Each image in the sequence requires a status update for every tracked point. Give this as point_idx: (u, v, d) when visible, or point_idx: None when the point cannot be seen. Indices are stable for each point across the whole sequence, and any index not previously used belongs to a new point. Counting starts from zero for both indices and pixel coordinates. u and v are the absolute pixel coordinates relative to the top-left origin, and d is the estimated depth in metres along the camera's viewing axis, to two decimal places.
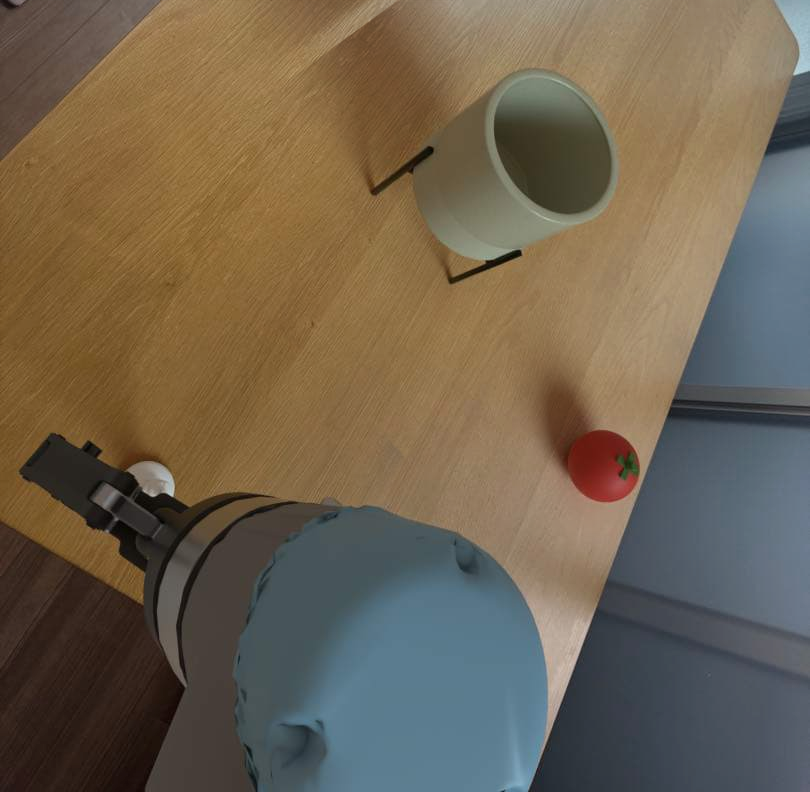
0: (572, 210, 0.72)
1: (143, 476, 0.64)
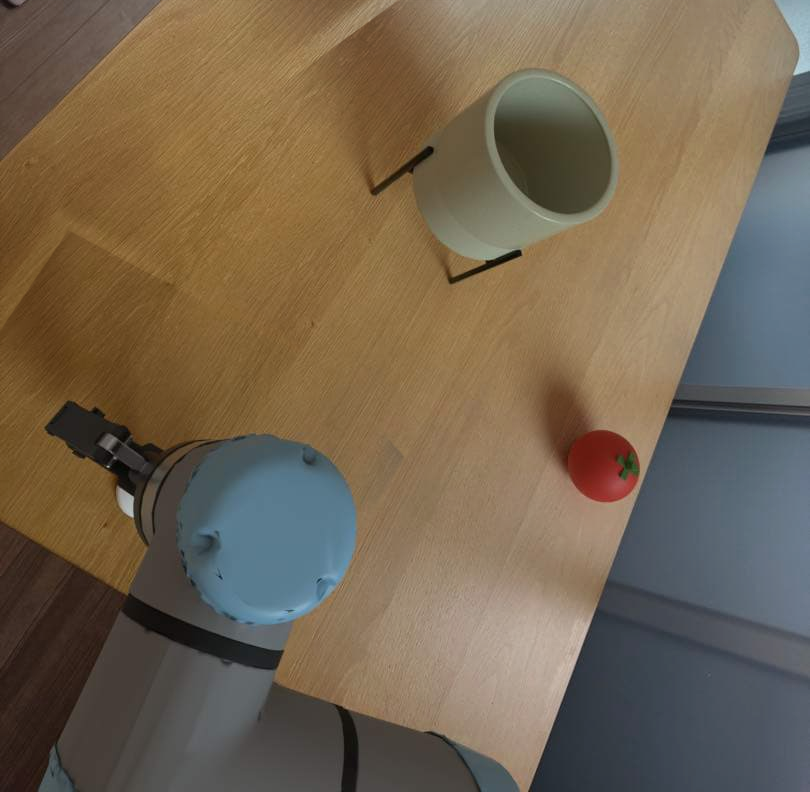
0: (572, 210, 0.72)
1: None
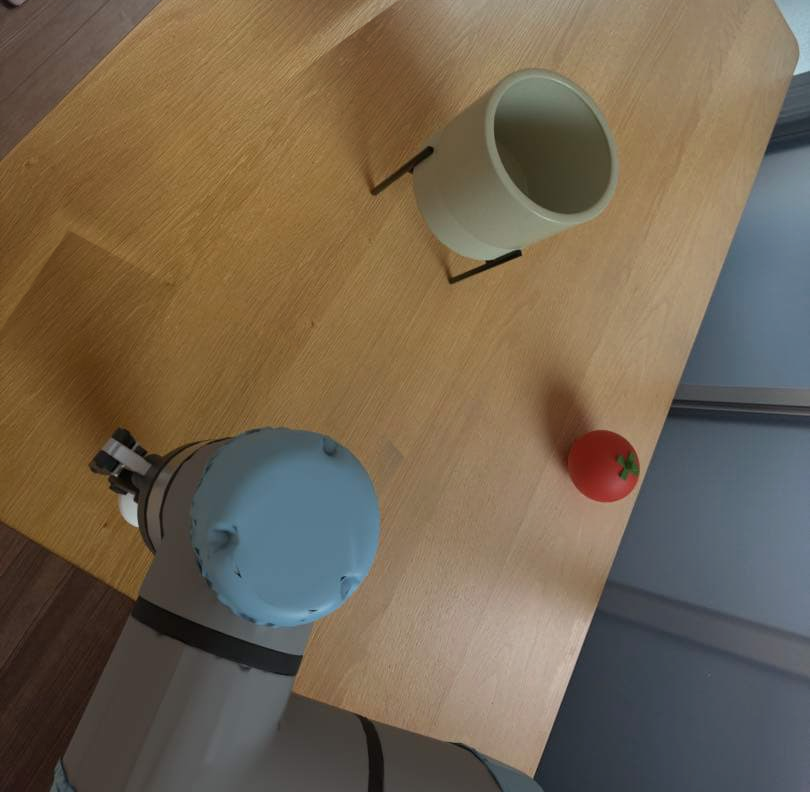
0: (572, 210, 0.72)
1: None
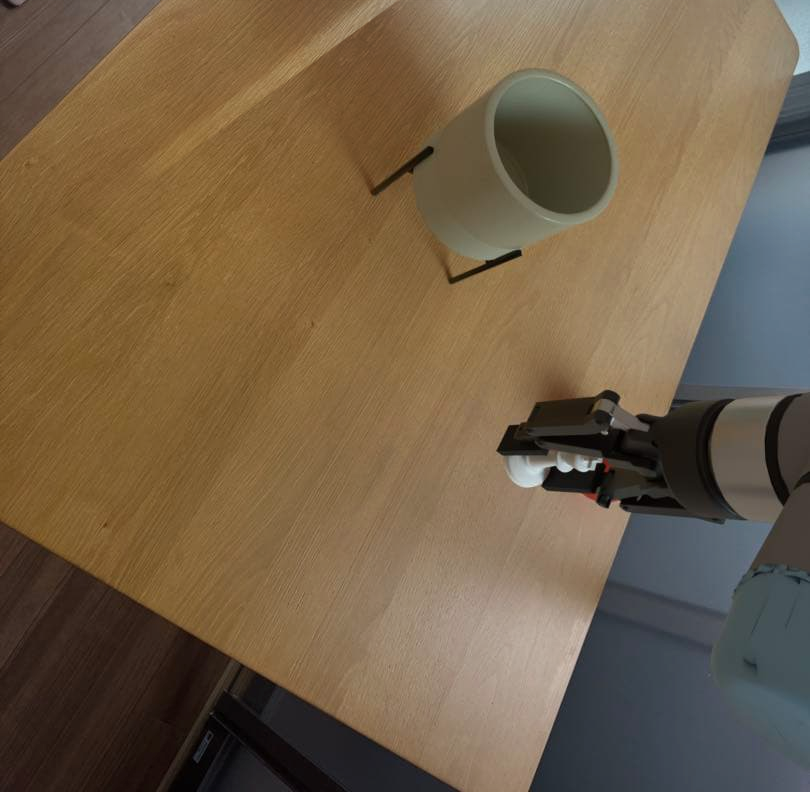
0: (572, 210, 0.72)
1: None
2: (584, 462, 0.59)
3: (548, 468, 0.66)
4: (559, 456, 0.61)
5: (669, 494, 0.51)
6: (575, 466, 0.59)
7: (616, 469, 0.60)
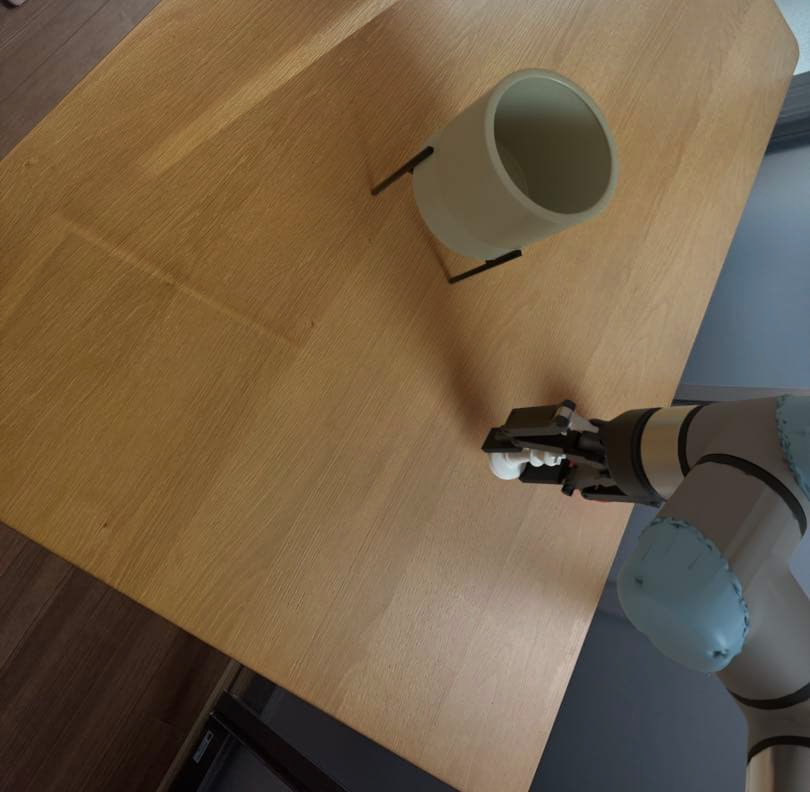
0: (572, 210, 0.72)
1: None
2: (551, 458, 0.72)
3: (524, 464, 0.79)
4: (532, 453, 0.74)
5: (615, 483, 0.65)
6: (544, 461, 0.72)
7: (578, 464, 0.73)
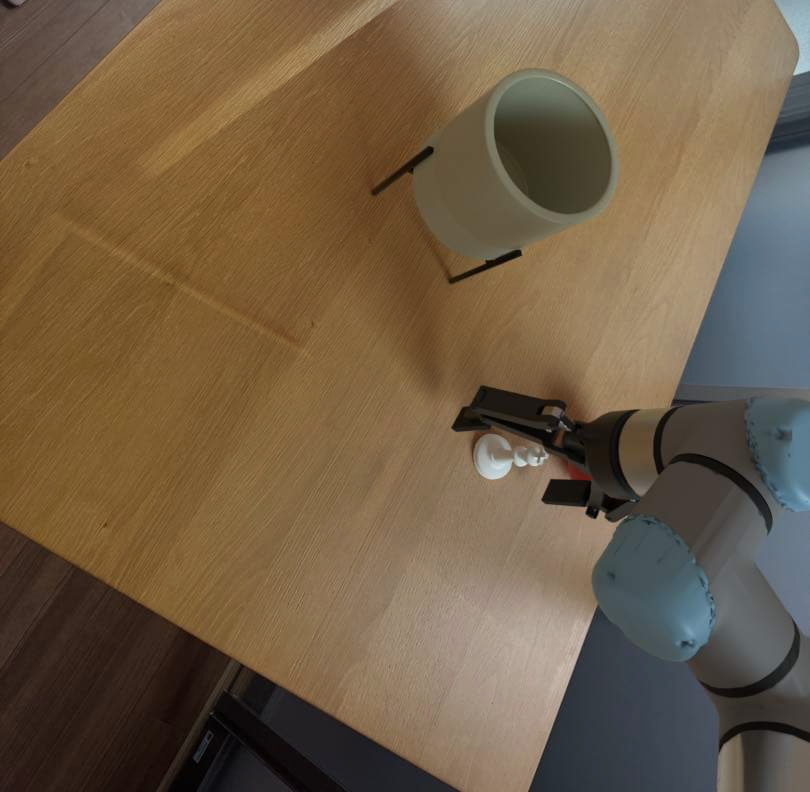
0: (572, 210, 0.72)
1: (493, 445, 0.81)
2: (534, 459, 0.74)
3: (510, 464, 0.81)
4: (516, 454, 0.76)
5: None
6: (527, 461, 0.74)
7: None
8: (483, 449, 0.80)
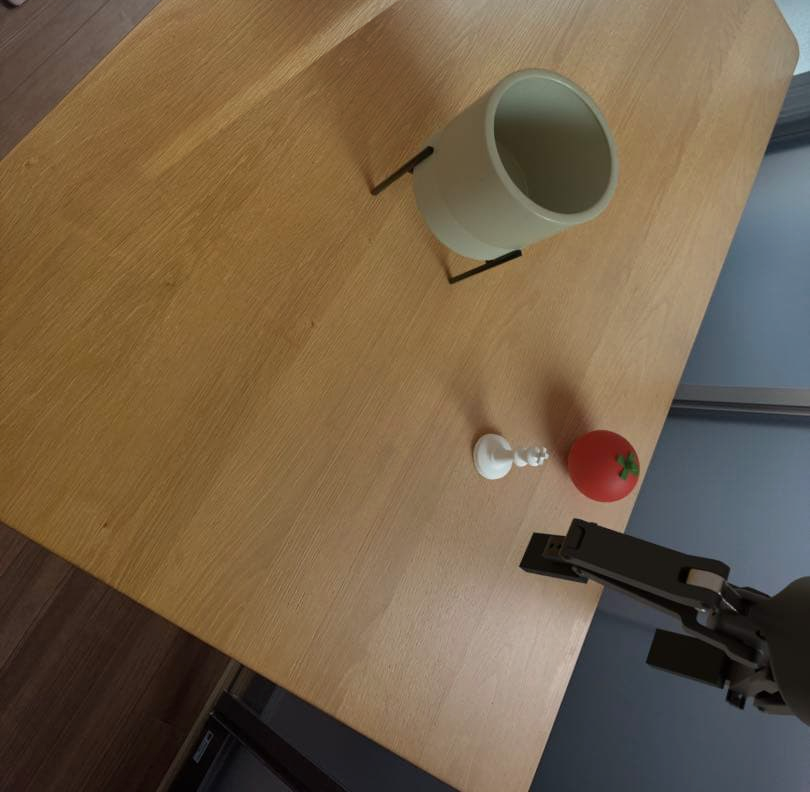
0: (572, 210, 0.72)
1: (493, 445, 0.81)
2: (534, 459, 0.74)
3: (510, 464, 0.81)
4: (516, 454, 0.76)
5: (774, 687, 0.42)
6: (527, 461, 0.74)
7: None
8: (483, 449, 0.80)
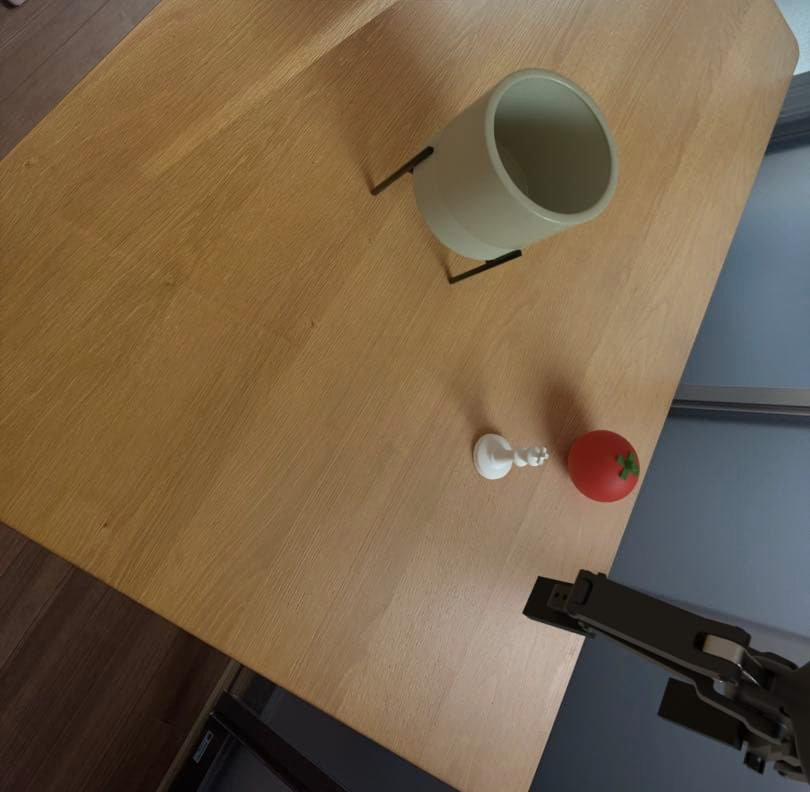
0: (572, 210, 0.72)
1: (493, 445, 0.81)
2: (534, 459, 0.74)
3: (510, 464, 0.81)
4: (516, 454, 0.76)
5: (798, 764, 0.38)
6: (527, 461, 0.74)
7: None
8: (483, 449, 0.80)
